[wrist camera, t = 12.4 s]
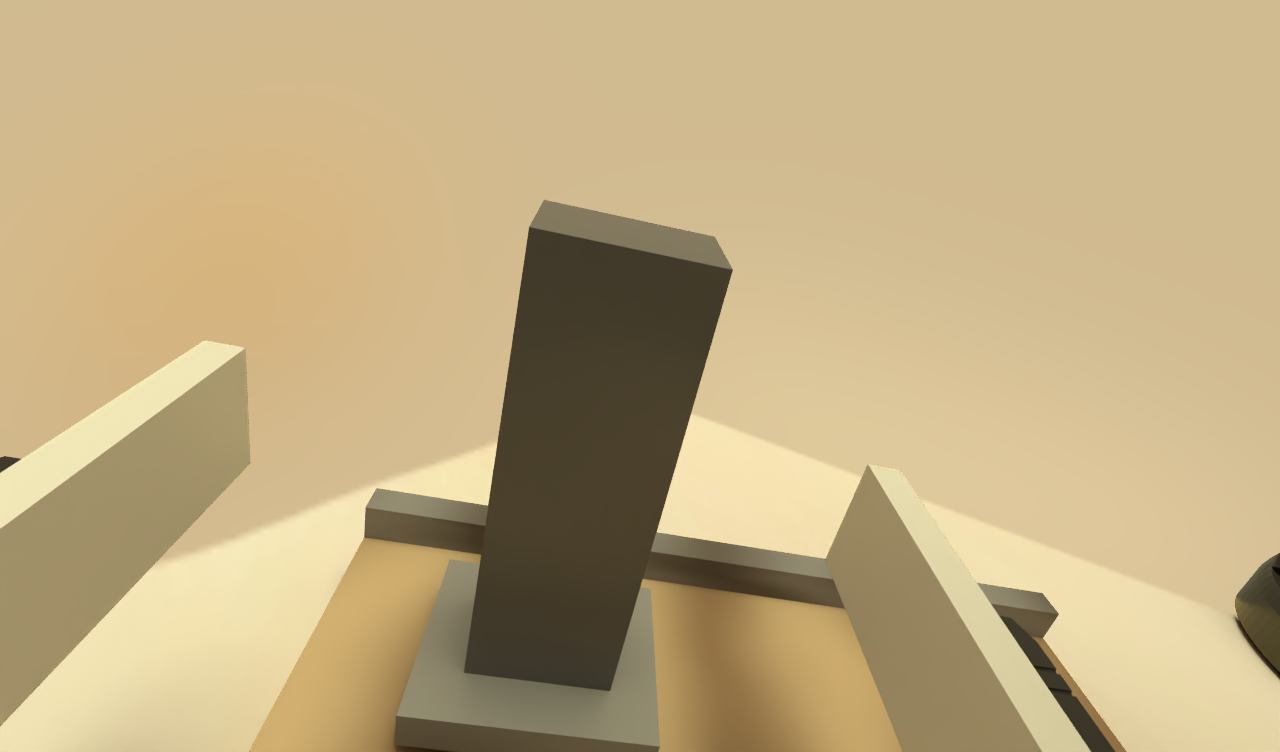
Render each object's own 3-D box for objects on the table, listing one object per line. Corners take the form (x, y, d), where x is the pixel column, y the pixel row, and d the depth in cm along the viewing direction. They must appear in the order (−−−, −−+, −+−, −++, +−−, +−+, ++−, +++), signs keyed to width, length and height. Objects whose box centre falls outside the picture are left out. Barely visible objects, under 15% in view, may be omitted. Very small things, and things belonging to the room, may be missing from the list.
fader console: (994, 658, 26) (1043, 583, 24) (1232, 1034, 16) (1343, 951, 14) (374, 569, 23) (379, 477, 21) (183, 961, 13) (164, 845, 11)
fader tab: (643, 612, 20) (757, 234, 15) (650, 773, 15) (817, 308, 10) (447, 584, 19) (495, 176, 14) (393, 744, 15) (438, 229, 10)
